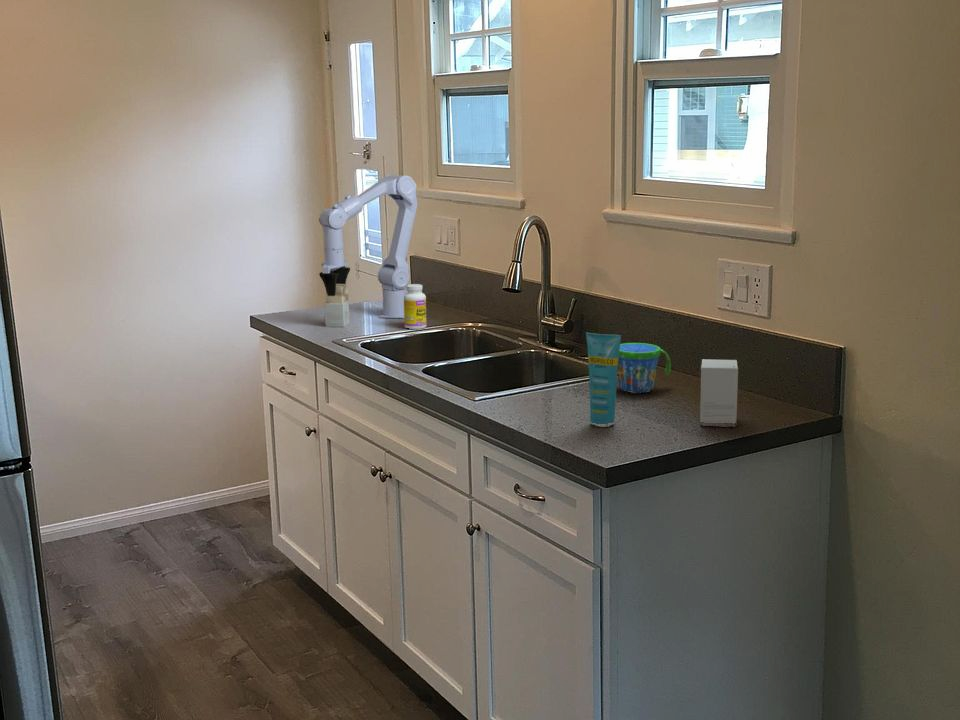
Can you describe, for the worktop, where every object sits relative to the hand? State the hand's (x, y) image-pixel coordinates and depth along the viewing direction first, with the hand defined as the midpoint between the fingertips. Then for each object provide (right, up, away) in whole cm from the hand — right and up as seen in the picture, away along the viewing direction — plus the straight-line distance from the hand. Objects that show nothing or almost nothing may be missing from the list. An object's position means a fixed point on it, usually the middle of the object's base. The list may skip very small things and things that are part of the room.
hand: (336, 293), depth 318 cm
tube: (+69, -34, -102) cm, 128 cm away
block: (0, -2, +1) cm, 3 cm away
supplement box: (+93, -33, -102) cm, 142 cm away
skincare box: (0, -10, +2) cm, 10 cm away
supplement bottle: (+24, -11, -4) cm, 27 cm away
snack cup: (+80, -27, -77) cm, 114 cm away
